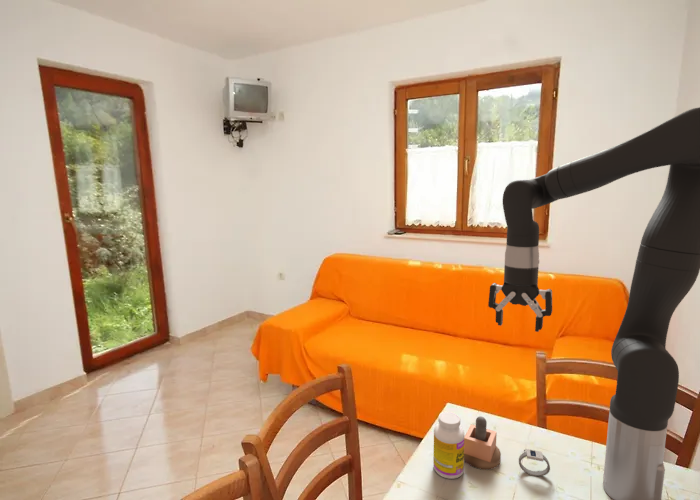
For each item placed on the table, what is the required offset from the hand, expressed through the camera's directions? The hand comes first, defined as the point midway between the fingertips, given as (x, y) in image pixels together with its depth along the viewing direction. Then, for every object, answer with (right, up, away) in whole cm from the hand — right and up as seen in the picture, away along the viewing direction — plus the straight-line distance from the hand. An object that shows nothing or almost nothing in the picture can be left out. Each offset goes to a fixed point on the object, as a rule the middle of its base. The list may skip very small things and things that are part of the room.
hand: (518, 327), depth 96 cm
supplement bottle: (-19, -31, -8) cm, 37 cm away
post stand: (-11, -30, -4) cm, 32 cm away
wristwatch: (-1, -31, -10) cm, 32 cm away
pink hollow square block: (-11, -28, -5) cm, 30 cm away
